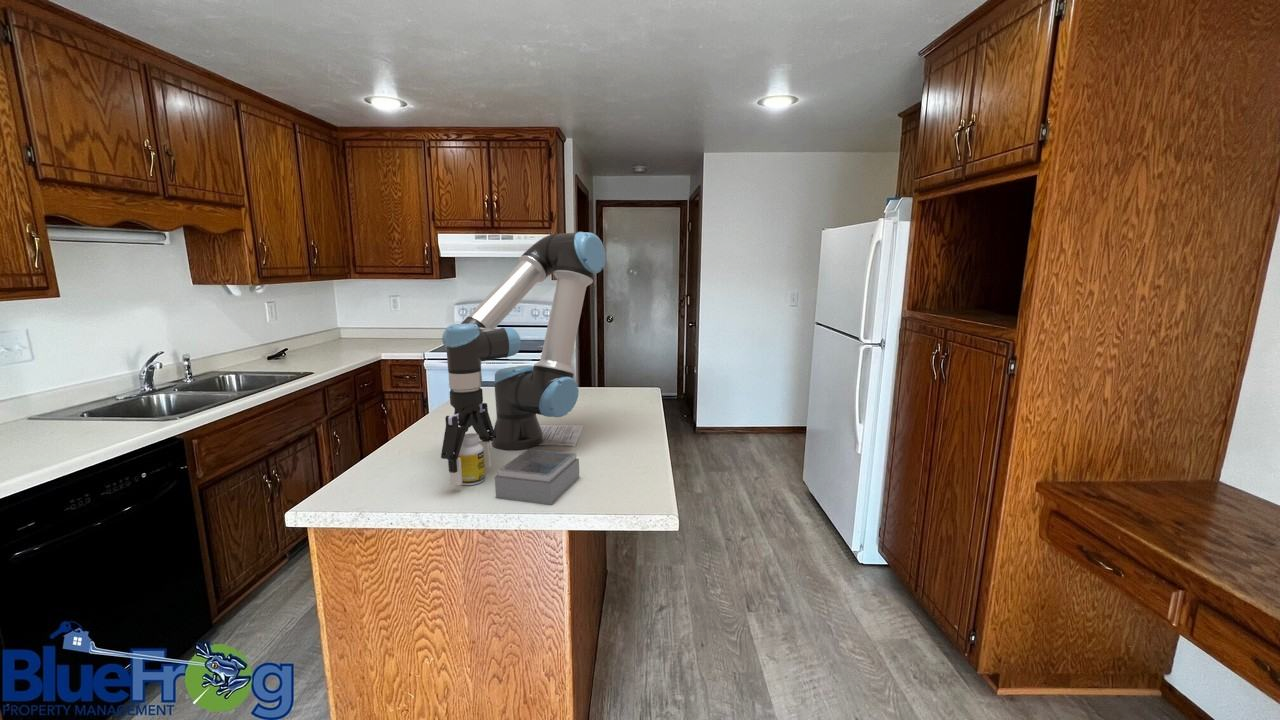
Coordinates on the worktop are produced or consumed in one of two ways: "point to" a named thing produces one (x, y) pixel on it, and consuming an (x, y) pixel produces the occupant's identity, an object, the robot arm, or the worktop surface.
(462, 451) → the pill bottle
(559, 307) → the robot arm
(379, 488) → the worktop surface
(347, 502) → the worktop surface
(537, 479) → the square metal tray
